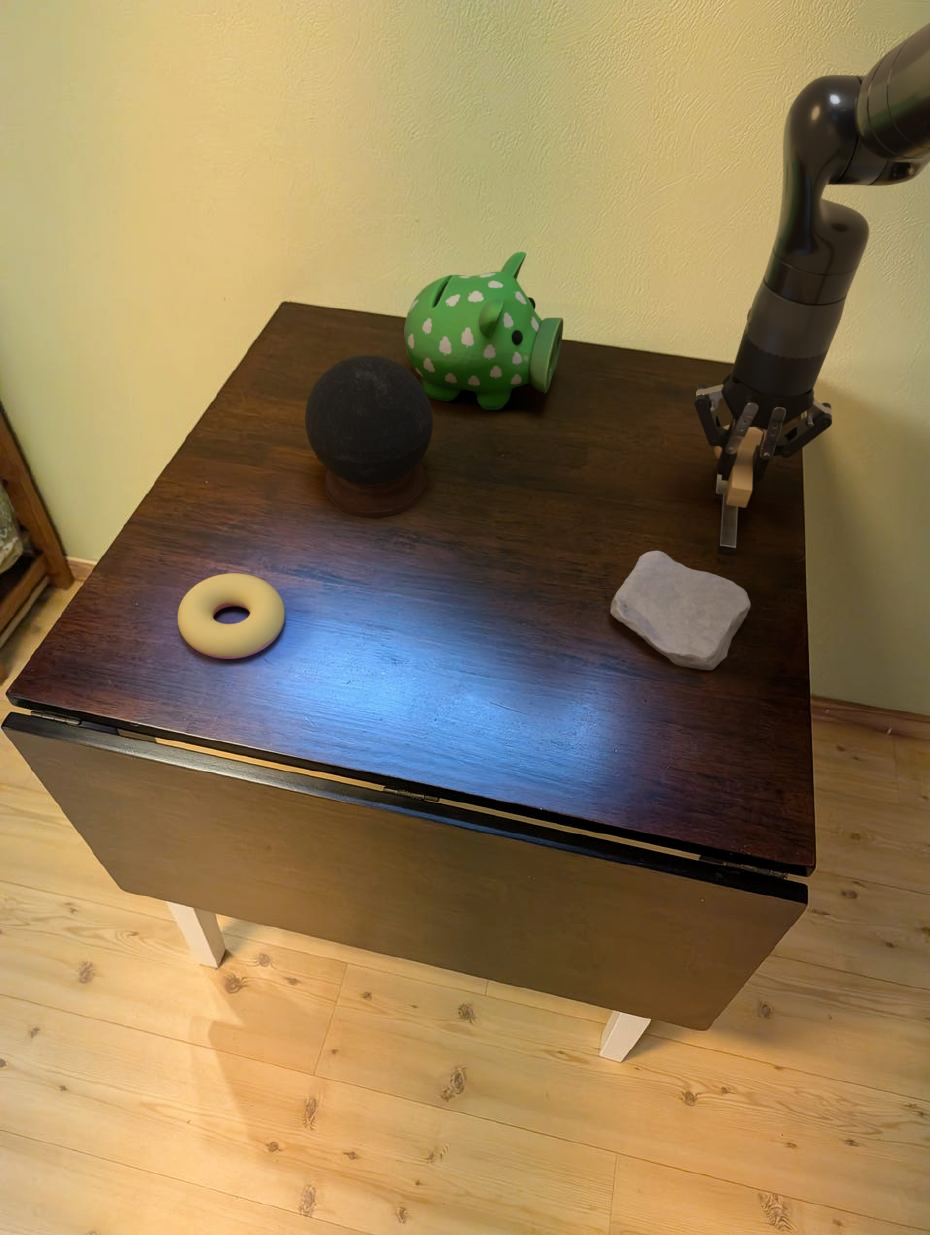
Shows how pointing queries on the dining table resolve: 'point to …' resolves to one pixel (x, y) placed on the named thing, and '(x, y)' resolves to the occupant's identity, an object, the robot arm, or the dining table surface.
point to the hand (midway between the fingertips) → (737, 477)
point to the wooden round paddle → (742, 469)
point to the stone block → (681, 610)
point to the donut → (231, 637)
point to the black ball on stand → (370, 435)
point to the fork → (725, 518)
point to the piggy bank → (481, 337)
